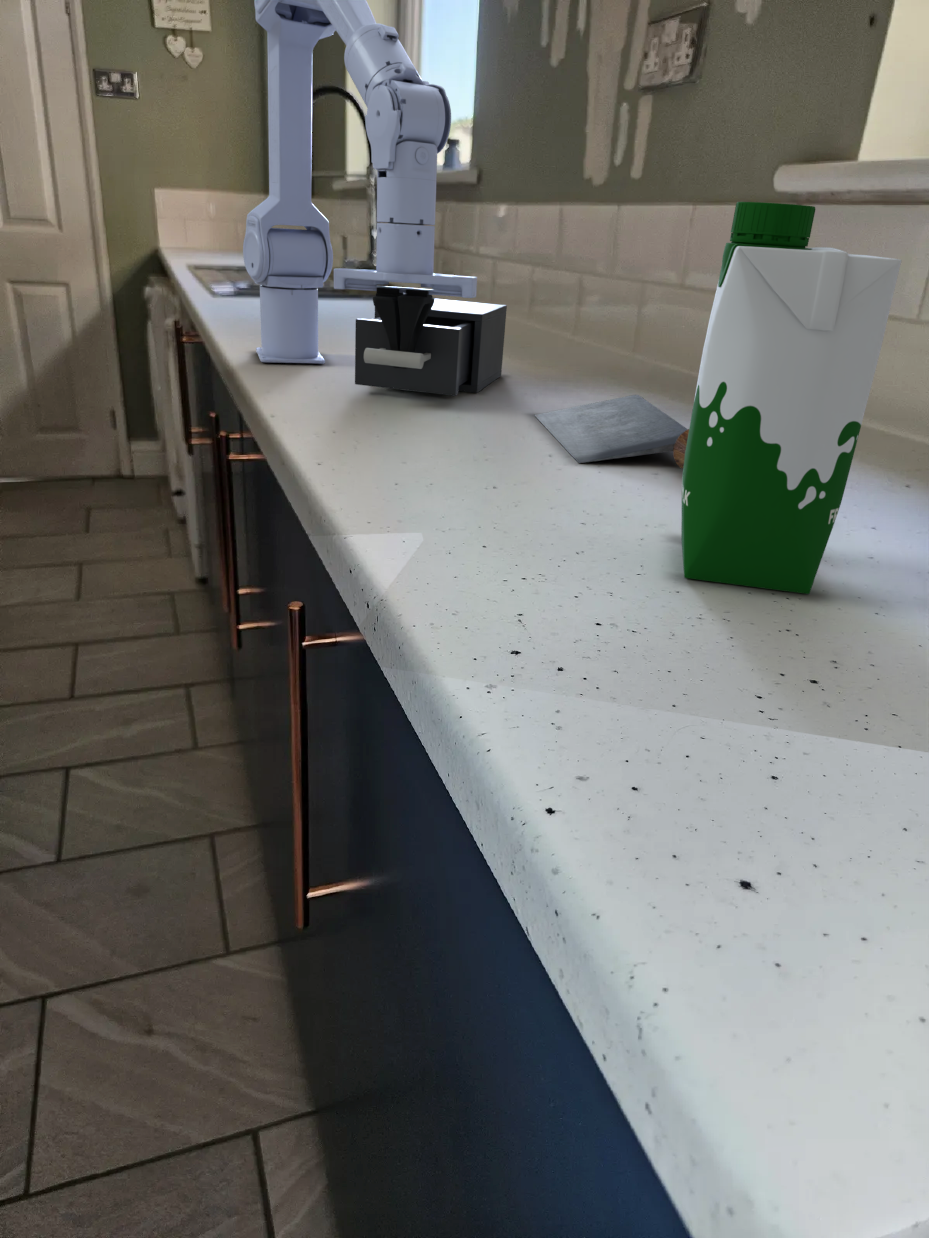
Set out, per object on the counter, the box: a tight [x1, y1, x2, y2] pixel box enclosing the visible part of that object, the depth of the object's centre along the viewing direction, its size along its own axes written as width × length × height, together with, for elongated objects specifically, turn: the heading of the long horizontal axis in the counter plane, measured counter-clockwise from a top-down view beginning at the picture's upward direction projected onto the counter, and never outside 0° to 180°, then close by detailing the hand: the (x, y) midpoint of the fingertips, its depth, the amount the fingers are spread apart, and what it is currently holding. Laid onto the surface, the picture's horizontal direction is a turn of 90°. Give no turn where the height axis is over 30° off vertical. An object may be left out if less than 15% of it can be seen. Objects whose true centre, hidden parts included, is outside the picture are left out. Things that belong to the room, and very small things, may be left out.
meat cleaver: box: [534, 394, 689, 470], centre depth 76 cm, size 34×11×4 cm, turn 8°
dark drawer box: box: [354, 317, 475, 397], centre depth 96 cm, size 17×11×7 cm, turn 166°
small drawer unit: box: [374, 298, 508, 394], centre depth 105 cm, size 14×13×9 cm
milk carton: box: [680, 201, 903, 595], centre depth 49 cm, size 9×9×20 cm
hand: (402, 367), depth 91 cm, fingers closed, pressing on dark drawer box
